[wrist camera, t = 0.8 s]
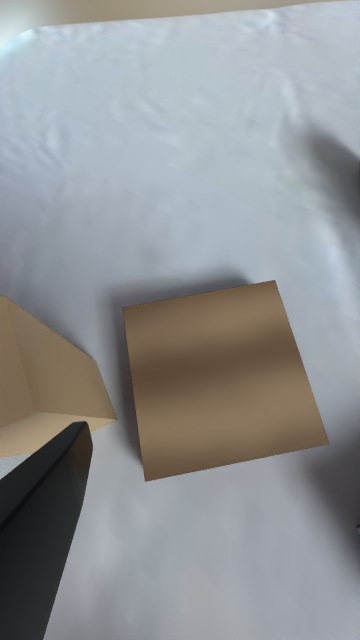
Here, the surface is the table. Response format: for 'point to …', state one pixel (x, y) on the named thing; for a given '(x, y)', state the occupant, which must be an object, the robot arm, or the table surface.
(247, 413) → the walnut podium
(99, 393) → the kraft carton
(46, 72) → the table surface
